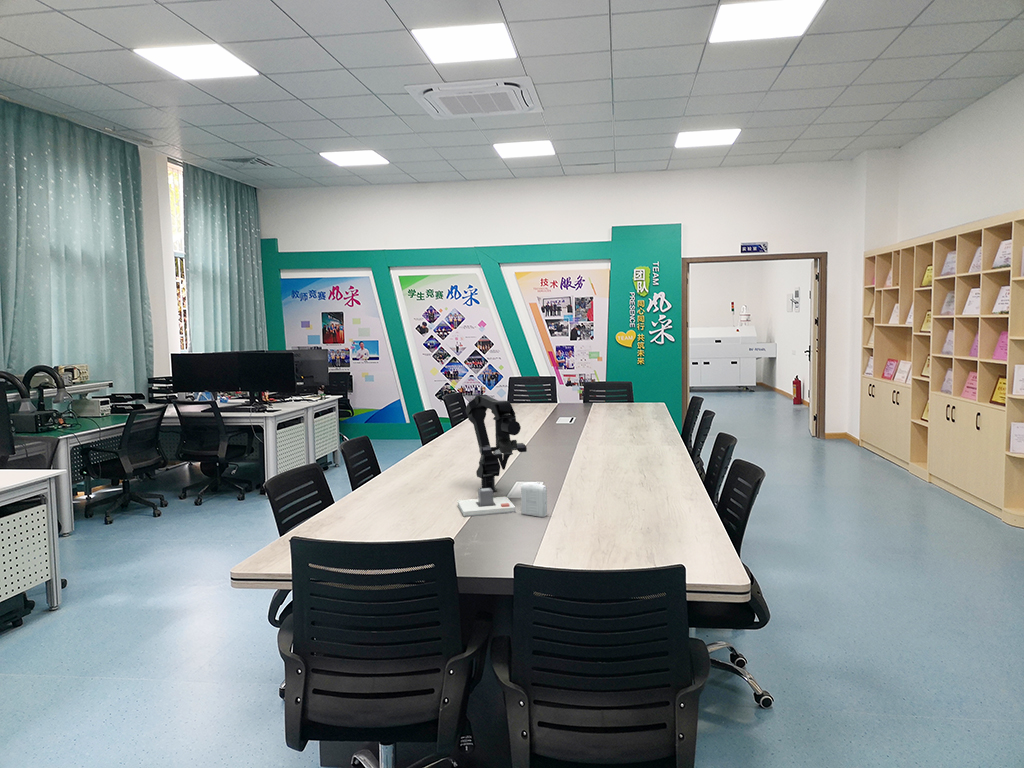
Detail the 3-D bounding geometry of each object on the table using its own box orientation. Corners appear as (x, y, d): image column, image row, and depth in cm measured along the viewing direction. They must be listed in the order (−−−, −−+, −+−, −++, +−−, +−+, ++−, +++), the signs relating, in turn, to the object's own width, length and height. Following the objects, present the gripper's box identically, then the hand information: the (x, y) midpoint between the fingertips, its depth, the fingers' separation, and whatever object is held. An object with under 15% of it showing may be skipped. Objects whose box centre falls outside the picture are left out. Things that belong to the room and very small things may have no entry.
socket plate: (457, 505, 266) (457, 498, 266) (506, 501, 271) (506, 494, 270) (463, 516, 251) (463, 509, 250) (515, 512, 255) (515, 505, 255)
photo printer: (549, 514, 251) (548, 482, 250) (543, 518, 247) (543, 485, 246) (524, 511, 256) (524, 479, 255) (519, 514, 252) (518, 482, 251)
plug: (478, 506, 262) (478, 488, 262) (491, 505, 264) (490, 487, 263) (480, 509, 258) (480, 491, 257) (493, 508, 259) (493, 490, 258)
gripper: (483, 436, 263) (484, 475, 264) (529, 433, 267) (530, 472, 268) (478, 432, 274) (479, 469, 275) (522, 429, 278) (523, 466, 279)
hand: (503, 469), depth 274 cm, fingers closed
